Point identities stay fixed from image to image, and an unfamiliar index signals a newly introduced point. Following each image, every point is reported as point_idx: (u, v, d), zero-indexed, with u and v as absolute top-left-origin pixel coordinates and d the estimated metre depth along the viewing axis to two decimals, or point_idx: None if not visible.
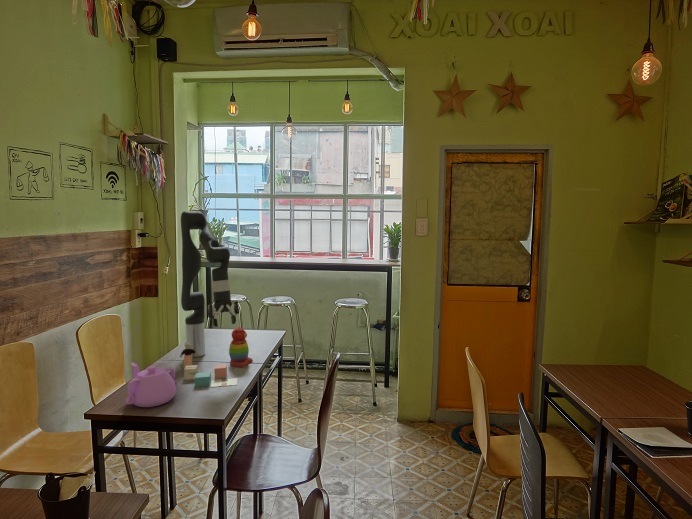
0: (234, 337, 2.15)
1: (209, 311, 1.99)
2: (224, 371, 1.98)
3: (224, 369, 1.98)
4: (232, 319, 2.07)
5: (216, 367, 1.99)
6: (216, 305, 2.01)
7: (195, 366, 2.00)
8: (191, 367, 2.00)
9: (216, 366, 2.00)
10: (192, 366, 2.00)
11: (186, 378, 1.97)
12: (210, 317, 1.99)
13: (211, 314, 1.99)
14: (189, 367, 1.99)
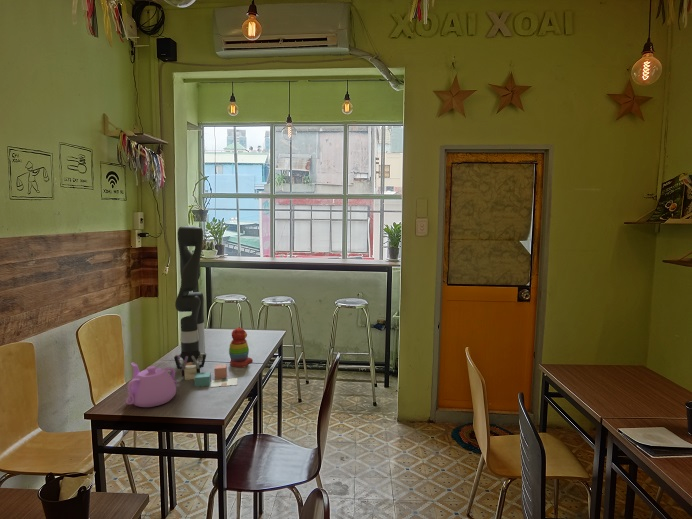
0: (234, 337, 2.15)
1: (175, 362, 1.97)
2: (224, 371, 1.98)
3: (224, 369, 1.98)
4: None
5: (216, 367, 1.99)
6: (181, 355, 1.97)
7: (195, 366, 2.00)
8: (191, 366, 2.00)
9: (216, 366, 2.00)
10: (192, 366, 2.00)
11: (186, 378, 1.97)
12: (177, 368, 1.97)
13: (178, 365, 1.97)
14: (189, 367, 1.99)
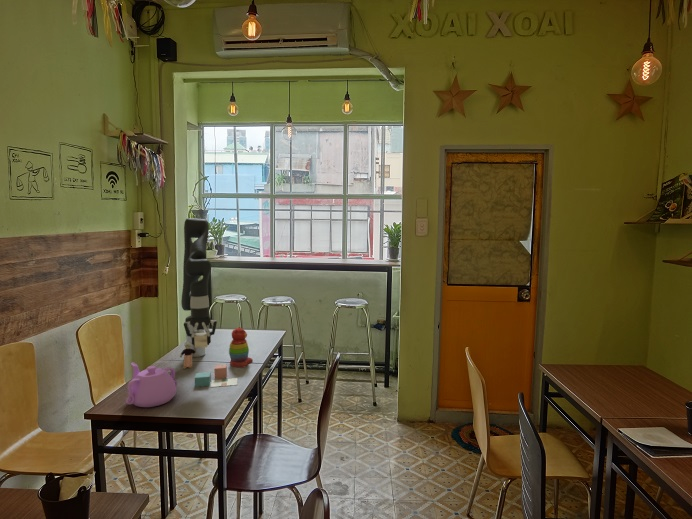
0: (234, 337, 2.15)
1: (185, 329, 1.88)
2: (224, 371, 1.98)
3: (224, 369, 1.98)
4: (207, 339, 1.91)
5: (216, 367, 1.99)
6: (191, 322, 1.88)
7: (205, 334, 1.91)
8: (201, 334, 1.91)
9: (216, 366, 2.00)
10: (202, 334, 1.91)
11: (196, 346, 1.88)
12: (187, 335, 1.88)
13: (187, 332, 1.88)
14: (200, 334, 1.90)
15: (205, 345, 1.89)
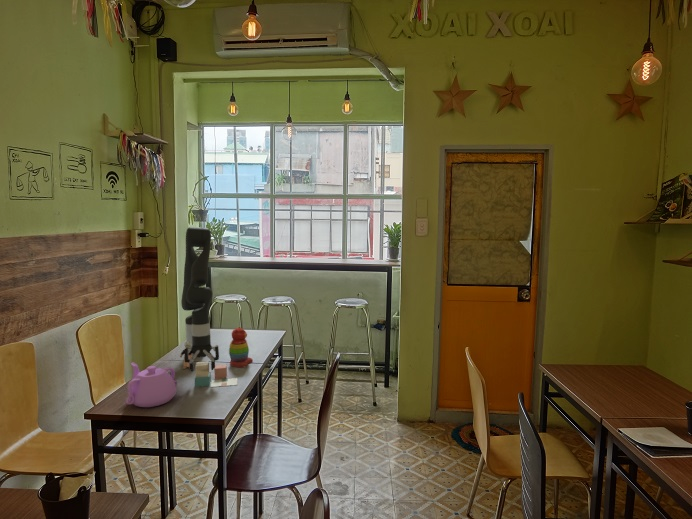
0: (234, 337, 2.15)
1: None
2: (224, 371, 1.98)
3: (224, 369, 1.98)
4: None
5: (216, 367, 1.99)
6: (192, 349, 1.89)
7: (207, 362, 1.93)
8: (202, 363, 1.92)
9: (216, 366, 2.00)
10: (203, 362, 1.93)
11: (197, 375, 1.89)
12: (185, 361, 1.89)
13: (186, 358, 1.89)
14: (201, 363, 1.91)
15: (206, 374, 1.90)
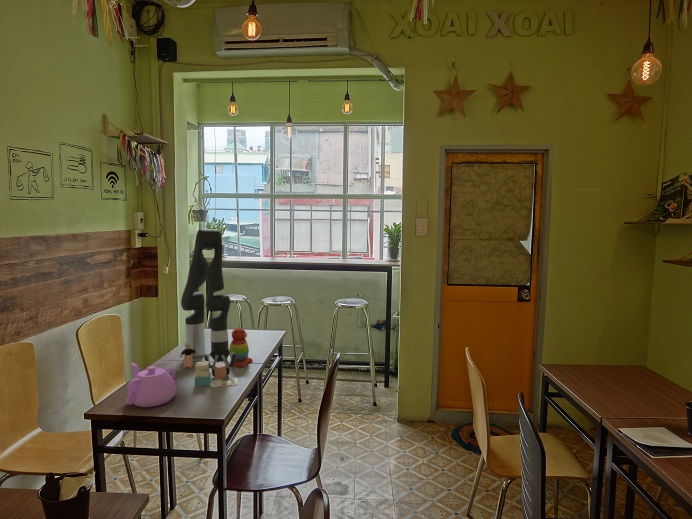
0: (234, 337, 2.15)
1: None
2: (224, 371, 1.98)
3: (224, 369, 1.98)
4: (226, 371, 2.01)
5: (216, 366, 1.99)
6: (211, 354, 1.98)
7: (207, 362, 1.93)
8: (202, 363, 1.92)
9: (216, 366, 2.00)
10: (203, 362, 1.93)
11: (197, 375, 1.89)
12: None
13: None
14: (201, 363, 1.91)
15: (206, 374, 1.90)
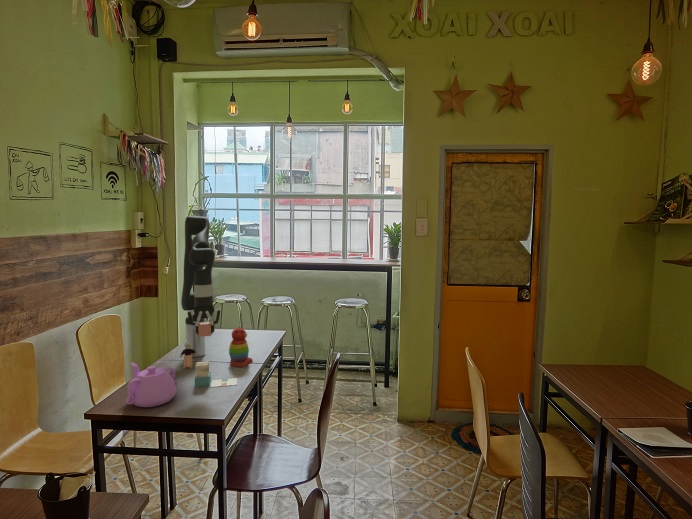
0: (234, 337, 2.15)
1: (189, 318, 1.89)
2: (209, 328, 1.89)
3: (209, 326, 1.89)
4: (211, 328, 1.92)
5: (200, 324, 1.90)
6: (195, 311, 1.89)
7: (207, 362, 1.93)
8: (202, 363, 1.92)
9: (200, 323, 1.91)
10: (203, 362, 1.93)
11: (197, 375, 1.89)
12: (191, 324, 1.89)
13: (191, 321, 1.89)
14: (201, 363, 1.91)
15: (206, 374, 1.90)
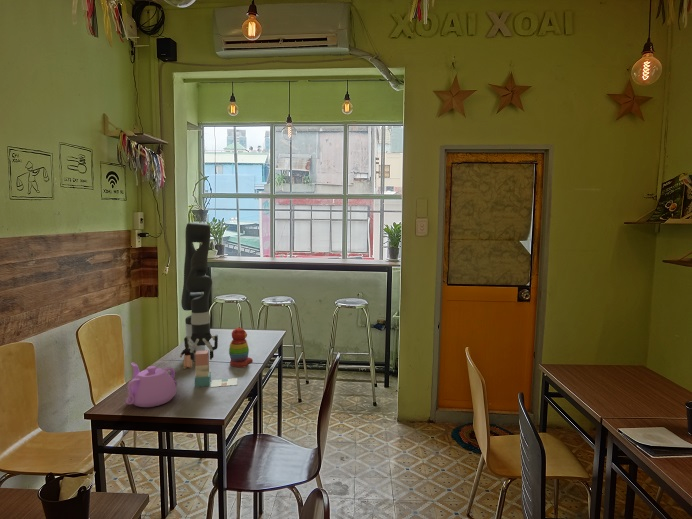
0: (234, 337, 2.15)
1: None
2: (205, 357, 1.89)
3: (205, 355, 1.89)
4: (210, 354, 1.92)
5: (198, 352, 1.90)
6: (192, 338, 1.89)
7: None
8: None
9: (197, 352, 1.91)
10: None
11: (197, 375, 1.89)
12: None
13: (186, 347, 1.89)
14: None
15: (206, 374, 1.90)
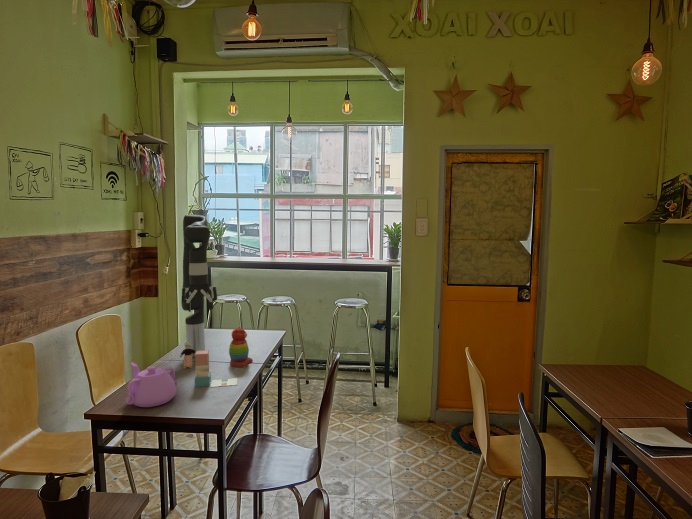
0: (234, 337, 2.15)
1: None
2: (205, 357, 1.89)
3: (205, 355, 1.89)
4: None
5: (198, 352, 1.90)
6: (190, 289, 1.87)
7: None
8: None
9: (197, 352, 1.91)
10: None
11: (197, 375, 1.89)
12: (182, 301, 1.86)
13: (183, 298, 1.86)
14: None
15: (206, 374, 1.90)
